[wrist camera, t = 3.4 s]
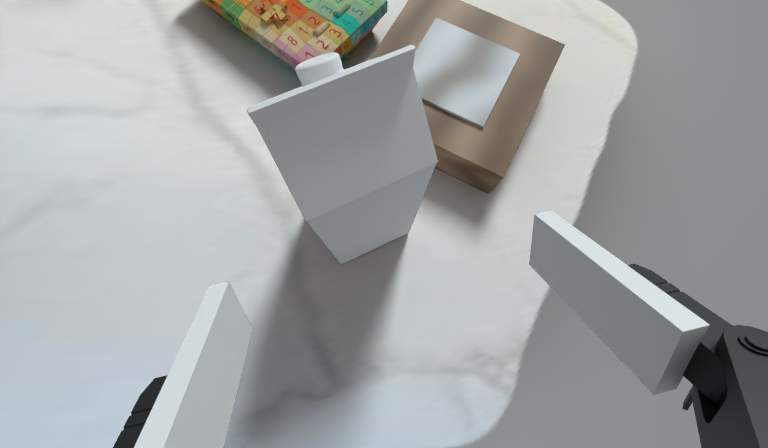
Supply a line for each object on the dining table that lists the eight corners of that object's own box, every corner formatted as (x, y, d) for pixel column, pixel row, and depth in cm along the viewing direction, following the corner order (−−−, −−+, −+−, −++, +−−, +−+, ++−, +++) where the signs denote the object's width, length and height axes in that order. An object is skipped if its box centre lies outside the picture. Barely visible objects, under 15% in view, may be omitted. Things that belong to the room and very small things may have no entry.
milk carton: (409, 232, 30) (457, 115, 12) (341, 265, 30) (281, 191, 11) (377, 170, 32) (376, -17, 14) (311, 199, 31) (216, 40, 13)
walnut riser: (346, 124, 33) (342, 98, 29) (415, 17, 37) (420, -20, 33) (488, 193, 32) (504, 175, 27) (544, 73, 35) (566, 42, 31)
